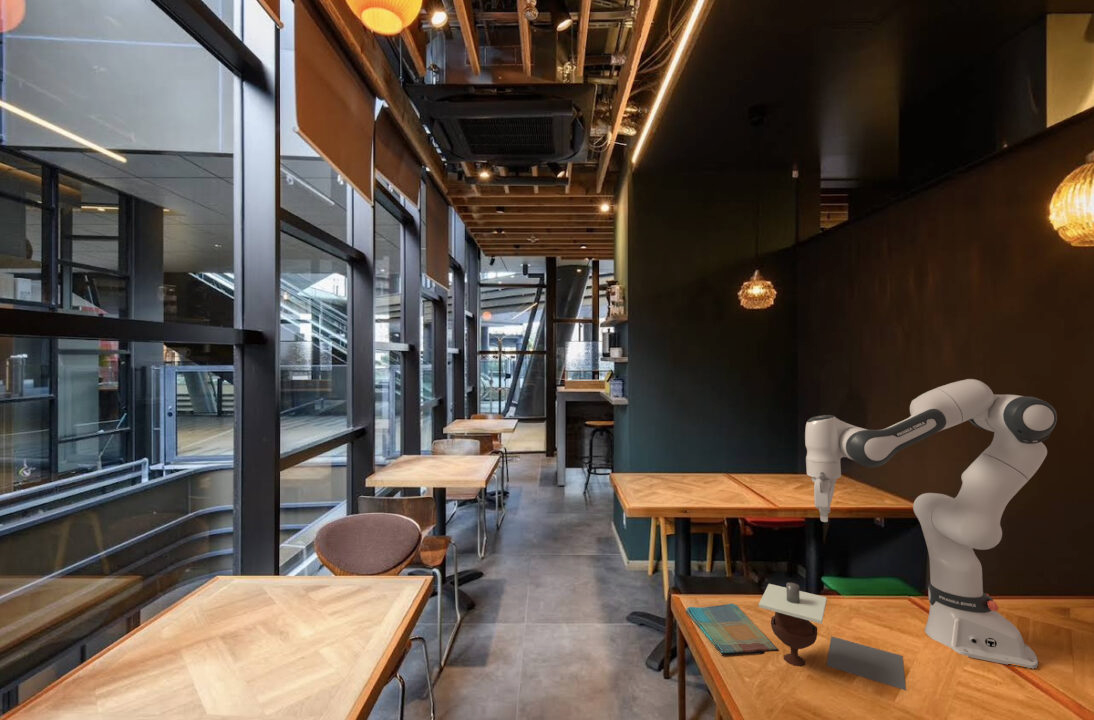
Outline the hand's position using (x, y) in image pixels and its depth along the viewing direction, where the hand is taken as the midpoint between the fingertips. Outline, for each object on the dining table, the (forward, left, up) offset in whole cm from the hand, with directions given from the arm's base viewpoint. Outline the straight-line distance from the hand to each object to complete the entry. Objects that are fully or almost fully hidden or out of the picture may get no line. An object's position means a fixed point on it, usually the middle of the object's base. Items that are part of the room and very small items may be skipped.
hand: (825, 516), depth 137 cm
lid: (+6, +24, -17) cm, 30 cm away
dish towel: (+24, +18, -33) cm, 45 cm away
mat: (-9, +14, -32) cm, 36 cm away
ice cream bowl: (+6, +24, -33) cm, 41 cm away
